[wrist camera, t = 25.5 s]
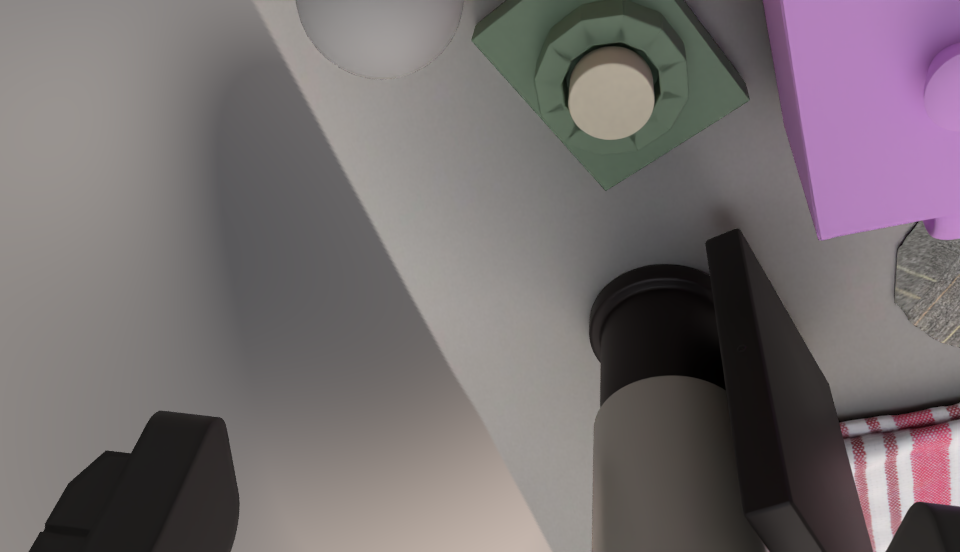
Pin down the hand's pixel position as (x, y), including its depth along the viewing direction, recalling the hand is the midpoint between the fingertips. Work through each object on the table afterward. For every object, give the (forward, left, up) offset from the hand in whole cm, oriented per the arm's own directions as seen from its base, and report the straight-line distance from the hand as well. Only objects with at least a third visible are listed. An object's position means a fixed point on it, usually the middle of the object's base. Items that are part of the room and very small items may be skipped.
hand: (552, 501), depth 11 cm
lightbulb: (-8, +2, -33) cm, 34 cm away
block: (-5, -8, -33) cm, 34 cm away
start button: (-5, -8, -30) cm, 31 cm away
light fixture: (-11, -23, -33) cm, 42 cm away
